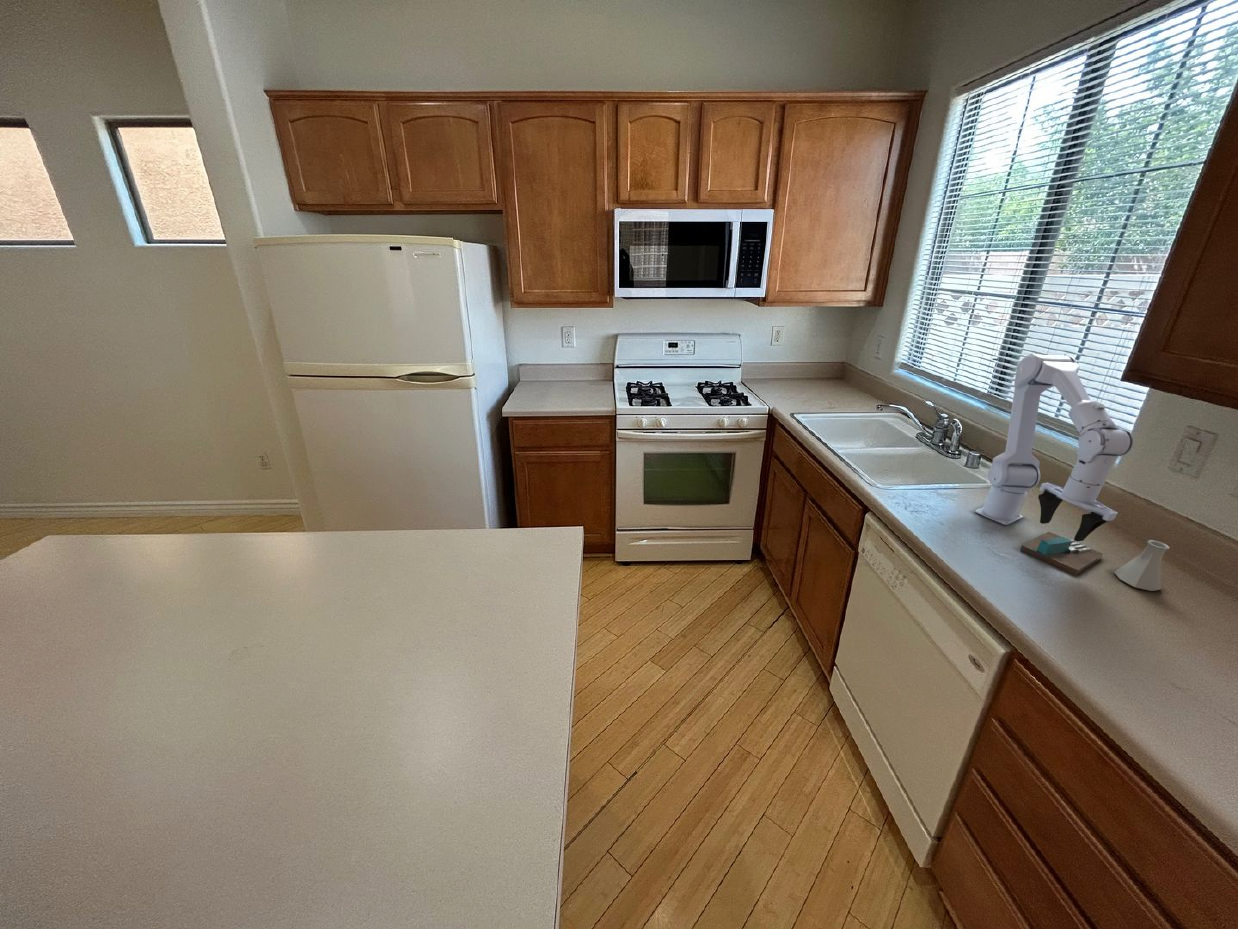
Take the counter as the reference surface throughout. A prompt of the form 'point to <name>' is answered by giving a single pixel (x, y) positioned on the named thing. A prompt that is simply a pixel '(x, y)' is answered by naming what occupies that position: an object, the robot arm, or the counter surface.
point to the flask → (1144, 567)
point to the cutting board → (1062, 555)
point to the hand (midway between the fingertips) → (1060, 531)
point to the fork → (1061, 546)
